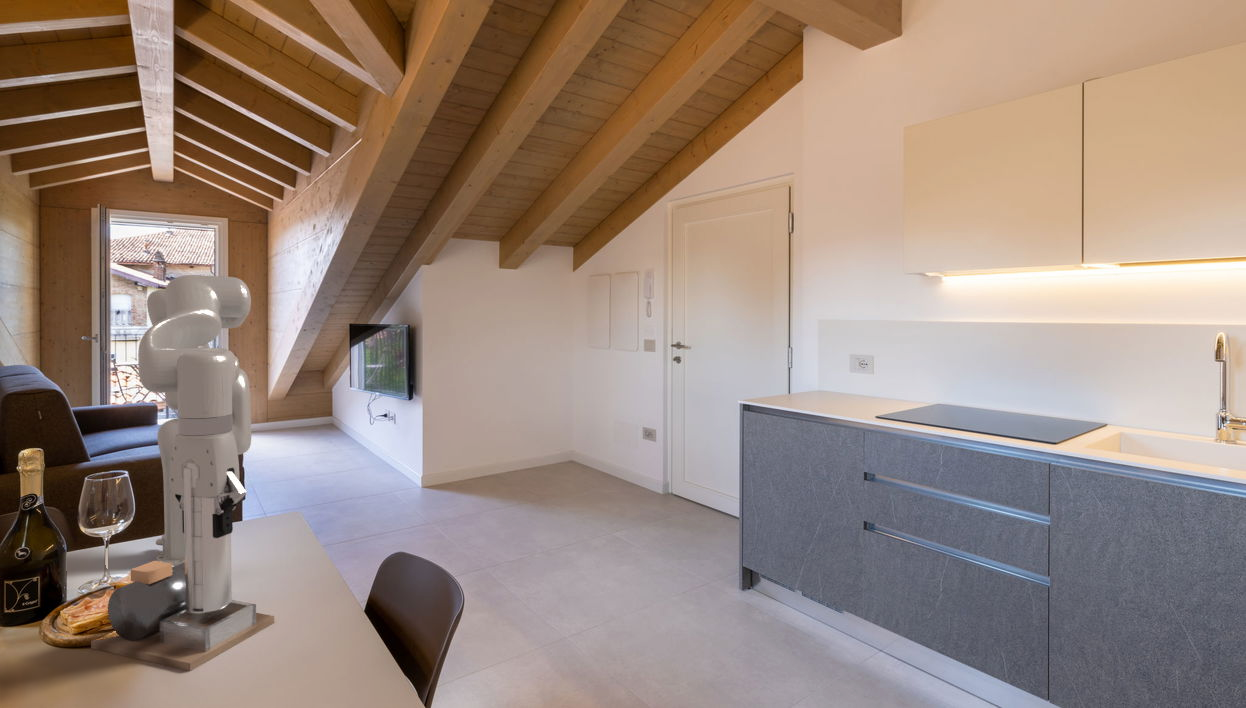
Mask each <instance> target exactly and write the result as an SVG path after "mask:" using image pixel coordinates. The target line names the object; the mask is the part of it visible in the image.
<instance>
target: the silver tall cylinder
mask: <svg viewBox="0 0 1246 708" xmlns="http://www.w3.org/2000/svg"><path fill="white" fill-rule="evenodd" d="M196 465H197V464H196ZM195 479H197V467H196V466H195V464H193V463H188V464H187V468H186V467H184V550H185V608H186V611H187V612H189V613H193V614H202V613H209V612H213V611H217V610H220V609H222V608H224V607H226V606H227V605H229V604H230V603H231V601H232V600H233V599H232V598H233V596H232V594H233V591H232V589H233V588H232V587H233V586H232V585H233V582H232V580H233V579H232V533H230V534H227V535H225V536H222V537H219V538H214V537H213V514H216V512H215V508H214V498H212V499H207V498H199V497H195V496H193V488H196V486H195V482H197V481H195ZM225 492H227V487H225V488H224V491H223V493H225ZM226 499H227V496H224V497H221V502H222V504H223V502H224V501H225V500H226Z"/></svg>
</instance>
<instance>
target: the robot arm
mask: <svg viewBox="0 0 1246 708" xmlns="http://www.w3.org/2000/svg"><path fill="white" fill-rule="evenodd" d="M146 299H147V301H146V308H147V314H148V317H149V320H150V322H151V325H152V326H150V327H149V328H148V329H147V330H146V331H145V333H143V335H142V337H141V339H140V342H139V345H138V354H137V355H138V359H137V360H138V377H139V380H140V383H141V385H142V387H143V388H144V389H145V390H146V391H149V392H152V393H157V394H159V393H160V394H161V393H164V397H165V403H166V404H167V406H168V407H169V408H171V410H174V411H177V418H173V419H170V420H167V421H164V423H162V424H161V425H160V426H159V428H158V431H157V437H156V438H157V446H158V449H159V455H160V459H161V460H160V461H161V466H162V477H163V480H162V481H163V506H164V507H163V509H164V510H163V515H164V517H163V518H164V533H163V534H162V535H161V538H158V539H156V540H155V545H156V546H162V551H161V552H160V553H158V555H157V556H156V561H162V562H165V563H171V564H172V565H173V566H176V565H179V564H181V563H184V562H185V550H184V467H186V468H187V464H188V463H193V464H195V466H196V467H197V479H195V481H197V482H195V486H196V488H193V496H195V497H199V498H207V499H212V498H214V508H215V512H216V514H213V537H214V538H219V537H222V536H225V535H227V534H230V533H231V534H232V533H233V531H234V530H233V528H234V527H233V511H234V510H235V509H236V508H237V507H236V506H237V505H238V504H239V502H241V500H242V499H243V498H244V497H245V496H246V495H247V490H246V489H245V488H244V486H243V484H242V483H241V481H240V462H239V461H240V460H239V455H243V454H245V453H247V452H248V451H249V449H250V447H251V444H252V413H251V412H252V411H251V390H250V389H251V388H250V381H249V377H248V374H247V373H246V371H244V369H242V368H240V361H239V358H238V357H237V356H236V355H235V354H234V353H233V351H231V350H229V349H227V348H222V347H221V348H220V347H210V345H209V343H210V342H212V341H214V340H215V339H217V337H218V335H220V333H221V330H222V329H235V328H239V327H241V326H242V324H244V322H245V320H246V318H247V317H248V316H249V315H250V311H251V307H252V306H251V305H252V297H251V292H250V289H249V287H248V285H247V284H246V283H245V281H243V280H242V279H240V278H239V277H234V276H219V275H201V274H200V275H198V274H186V275H181V276H177V277H175V278H173V279H171V280H170V281H169V282H168V283H167V285H166V287H165V288H163V289H161V288H160V289H158V290H154V291H152V292H150V294H148V296H147V298H146ZM196 464H197V465H196ZM225 487H227V492H225V493H223V491H224V488H225ZM224 496H227V499H226V500H225V501H224V502H223V504H222V502H221V497H224Z"/></svg>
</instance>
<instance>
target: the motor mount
mask: <svg viewBox="0 0 1246 708" xmlns="http://www.w3.org/2000/svg"><path fill="white" fill-rule="evenodd" d="M107 616H108V619H109V622H110V624H111V627H112V628H113V631H114V630H115V631H116V633H117V634H118V635H119V636H116V637H112V638H108V639H107V638H106V639H100V640H95V639H92V640H91V641H90V648H91V649H92V650H93V649H94V650H97V651H102V652H106V653H111V654H115V655H120V656H124V657H129V658H132V659H137V660H141V661H145V662H150V663H153V664H159V665H163V666H167V667H172V668H176V669H180V670H183V671H184V670H185V671H187V672H188V671H190V672H191V671H193V670H194V669H196V668H198V667H200V666H201V665H203V664H205V663H207V662H209V661H211V660H212V659H214V658H215V657H218V656H219V655H221V654H222V653H224V652H225V651H228V650H230V649H231V648H233V647H234V646H236V645H238V644H240V643H242V642H243V641H245V640H246V639H248V638H250V637H252V636H253V635H255V634H257V633H259V632H260V631H263V630H264V629H266V628H267V627H269V626H271V625H272V624H274V623H275V615H271V614H265V613H260V612H257V604H256V603H250V602H245V601H239V600H234V599H232V601H231V603H230V604H229V605H227V606H226V607H224V608H222V609H220V610H217V611H213V612H209V613H202V614H193V613H189V612H187V611H186V608H185V562H184V563H181V564H179V565H176V566H174V567H172V564H171V563H165V562H160V561H157V560H153V561H150V562H147V563H144V564H141V565H139V566H137V567H133V568H131V569H130V583H127V584H126V585H123V586H120V587H118V588H116V589H115V590H113V592H112V593H111V595H110V597H109V599H108V603H107Z"/></svg>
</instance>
